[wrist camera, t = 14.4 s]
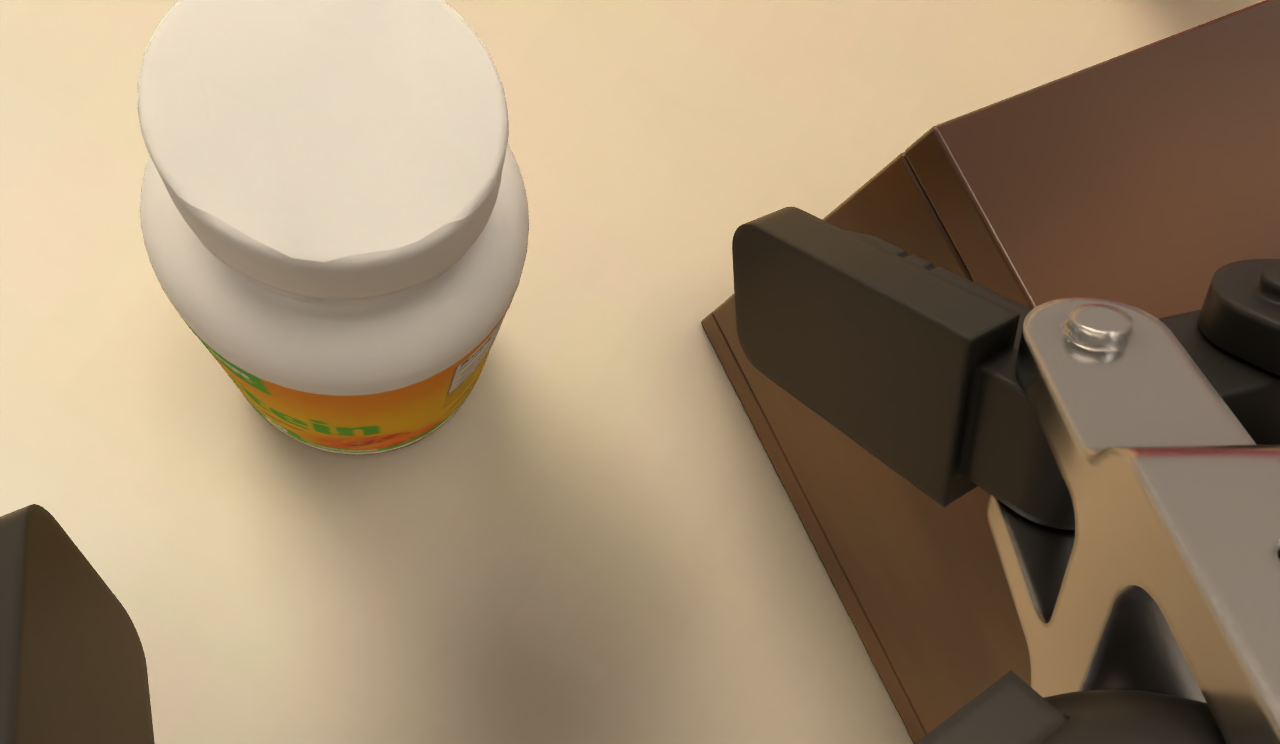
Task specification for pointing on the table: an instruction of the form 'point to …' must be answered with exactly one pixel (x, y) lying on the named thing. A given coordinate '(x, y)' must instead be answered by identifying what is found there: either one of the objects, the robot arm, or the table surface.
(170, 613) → the table surface
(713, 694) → the table surface
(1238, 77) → the cabinet
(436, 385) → the supplement bottle
